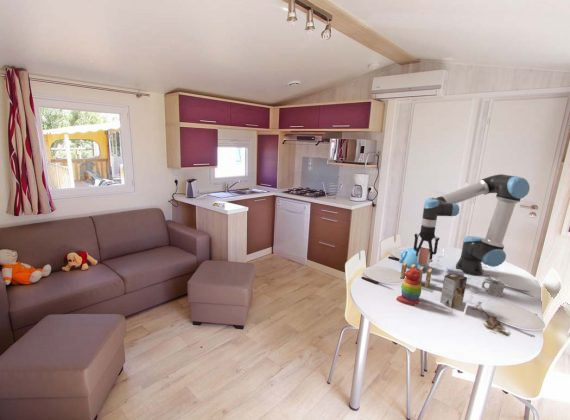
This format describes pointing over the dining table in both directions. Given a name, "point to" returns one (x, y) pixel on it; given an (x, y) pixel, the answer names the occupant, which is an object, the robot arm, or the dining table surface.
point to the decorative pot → (410, 258)
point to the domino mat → (430, 288)
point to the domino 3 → (423, 256)
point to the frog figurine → (495, 326)
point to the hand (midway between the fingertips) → (423, 262)
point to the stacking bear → (411, 288)
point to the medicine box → (454, 271)
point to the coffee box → (453, 290)
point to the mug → (494, 287)
